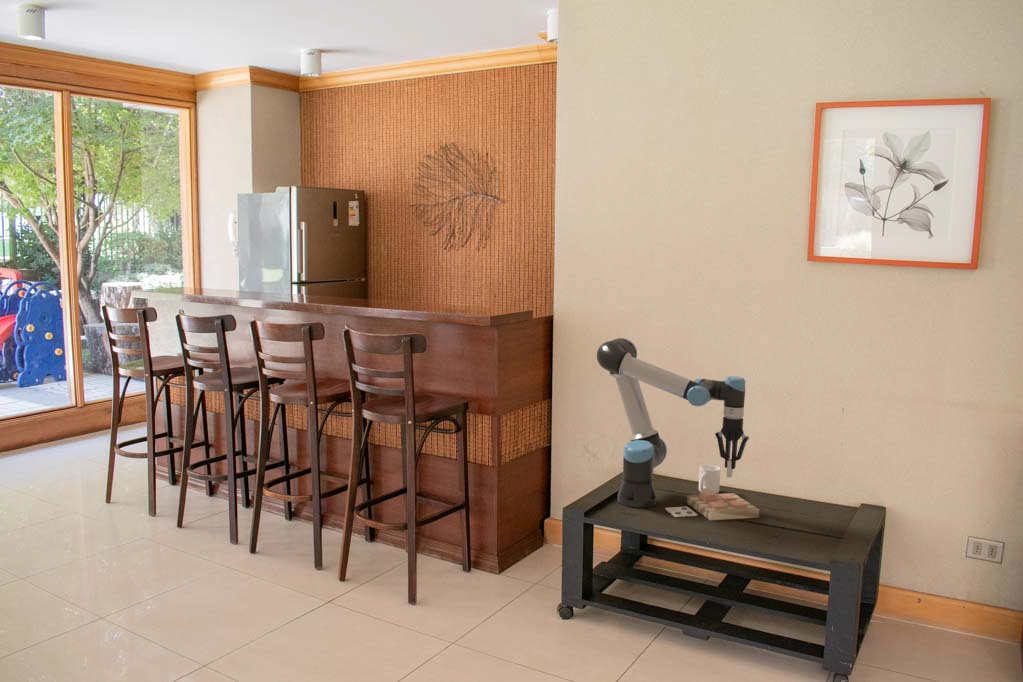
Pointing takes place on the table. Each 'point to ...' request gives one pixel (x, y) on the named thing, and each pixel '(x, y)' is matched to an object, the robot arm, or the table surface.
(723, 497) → the button
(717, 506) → the button
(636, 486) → the robot arm
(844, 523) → the table surface
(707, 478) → the cup
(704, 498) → the button
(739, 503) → the button
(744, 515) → the board
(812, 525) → the table surface
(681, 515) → the card
